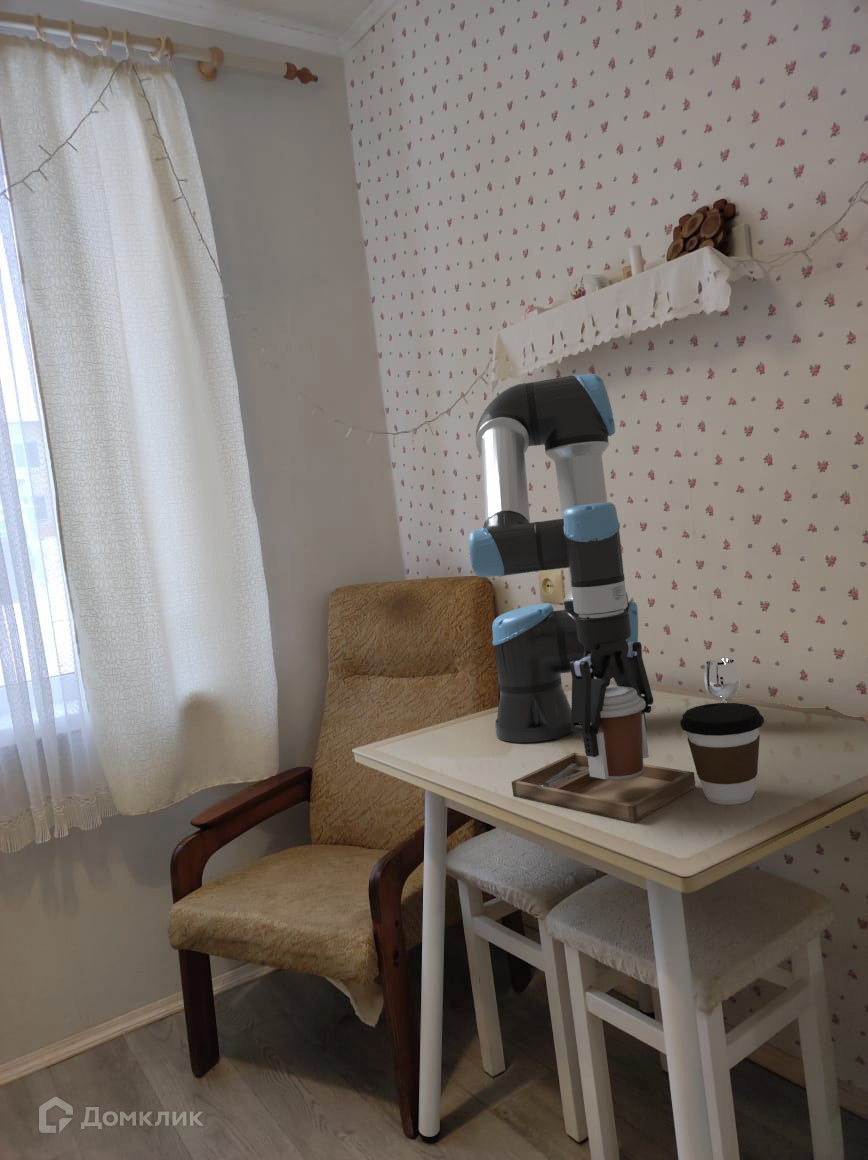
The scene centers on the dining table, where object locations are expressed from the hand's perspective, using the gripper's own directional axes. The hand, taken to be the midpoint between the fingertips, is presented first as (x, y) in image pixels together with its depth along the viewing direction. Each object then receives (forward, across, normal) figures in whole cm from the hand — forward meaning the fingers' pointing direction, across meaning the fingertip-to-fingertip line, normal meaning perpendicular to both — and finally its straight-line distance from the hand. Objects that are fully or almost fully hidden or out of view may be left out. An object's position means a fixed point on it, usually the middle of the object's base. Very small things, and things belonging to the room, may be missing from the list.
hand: (619, 766), depth 128 cm
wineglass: (+5, +33, +2) cm, 33 cm away
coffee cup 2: (+5, +6, -13) cm, 15 cm away
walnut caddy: (+4, 0, +4) cm, 6 cm away
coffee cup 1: (+1, 0, 0) cm, 1 cm away
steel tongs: (+4, 0, +11) cm, 11 cm away
